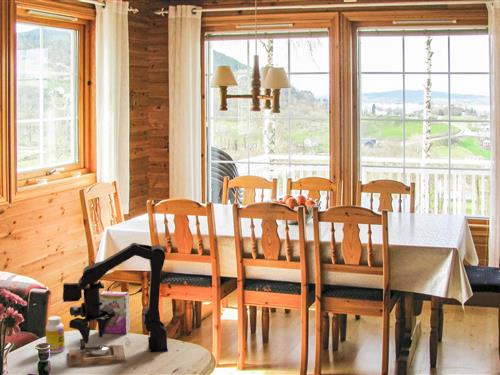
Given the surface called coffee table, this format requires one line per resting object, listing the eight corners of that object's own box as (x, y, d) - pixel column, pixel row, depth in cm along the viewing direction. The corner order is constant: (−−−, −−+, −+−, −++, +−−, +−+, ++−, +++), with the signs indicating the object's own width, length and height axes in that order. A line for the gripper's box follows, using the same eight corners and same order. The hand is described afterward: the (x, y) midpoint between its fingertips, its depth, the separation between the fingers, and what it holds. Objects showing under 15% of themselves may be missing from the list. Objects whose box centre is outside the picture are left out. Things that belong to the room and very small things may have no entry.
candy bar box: (99, 333, 312) (98, 294, 310) (103, 329, 317) (102, 290, 314) (126, 334, 310) (125, 295, 308) (130, 330, 315) (129, 291, 313)
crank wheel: (109, 350, 289) (108, 334, 288) (109, 356, 282) (108, 341, 281) (80, 352, 287) (80, 336, 286) (79, 358, 280) (79, 343, 279)
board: (123, 348, 295) (122, 342, 295) (125, 362, 281) (125, 355, 280) (69, 352, 291) (69, 346, 291) (69, 367, 276) (68, 360, 276)
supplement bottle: (60, 354, 289) (58, 321, 287) (43, 353, 291) (42, 320, 289) (67, 348, 296) (66, 315, 294) (51, 347, 297) (50, 314, 295)
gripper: (93, 290, 298) (95, 329, 301) (57, 303, 283) (59, 344, 285) (115, 294, 292) (116, 334, 295) (79, 308, 277) (81, 349, 279)
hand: (93, 340), depth 288 cm, fingers open, 7 cm apart
